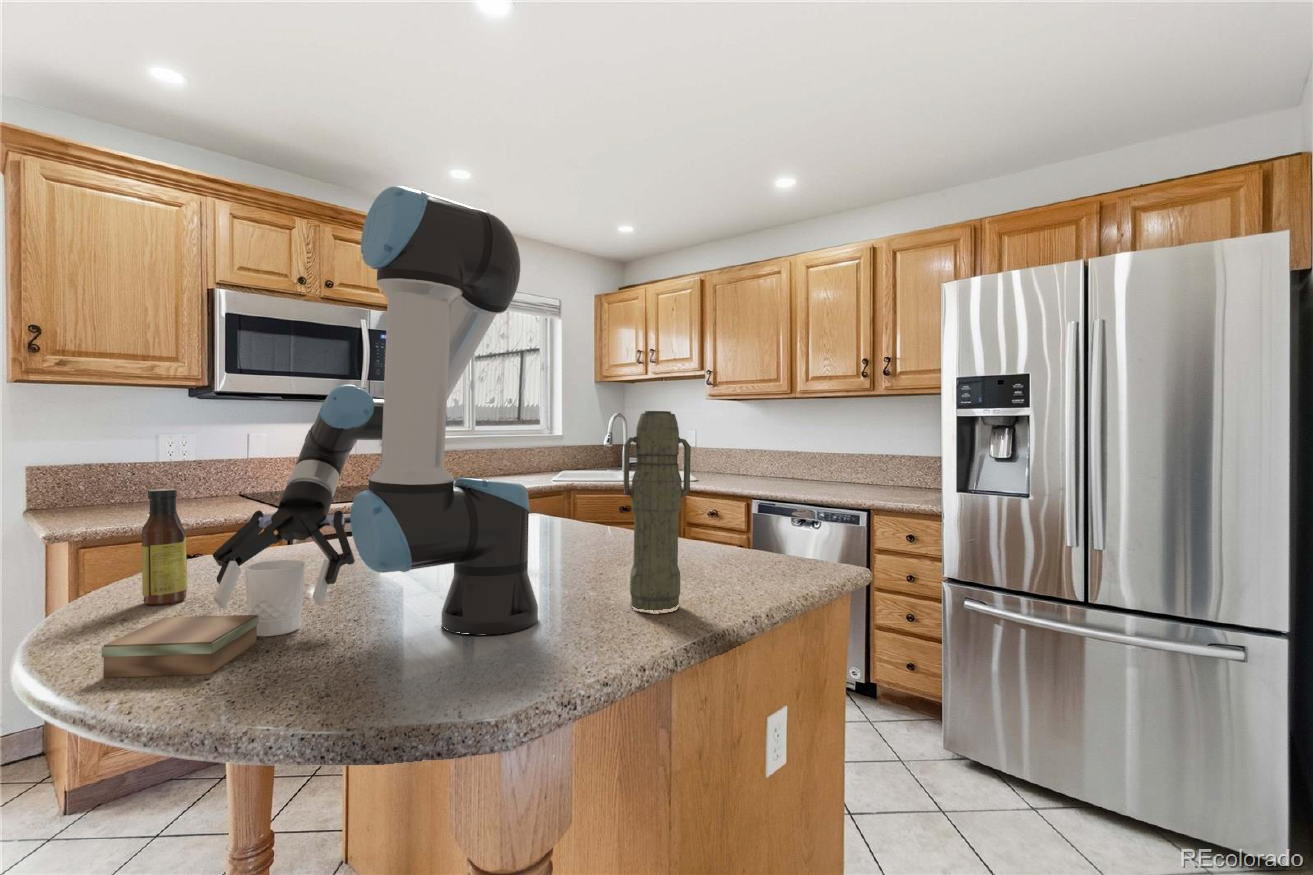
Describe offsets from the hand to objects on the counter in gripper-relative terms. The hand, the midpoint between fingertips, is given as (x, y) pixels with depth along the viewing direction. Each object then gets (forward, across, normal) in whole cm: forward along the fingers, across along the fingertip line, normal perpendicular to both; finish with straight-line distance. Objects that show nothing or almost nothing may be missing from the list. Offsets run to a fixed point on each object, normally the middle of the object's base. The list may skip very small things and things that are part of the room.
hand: (268, 602), depth 95 cm
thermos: (-3, -60, -10) cm, 61 cm away
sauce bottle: (-11, +26, -18) cm, 34 cm away
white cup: (+2, 0, -5) cm, 5 cm away
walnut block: (+10, +6, +4) cm, 13 cm away
